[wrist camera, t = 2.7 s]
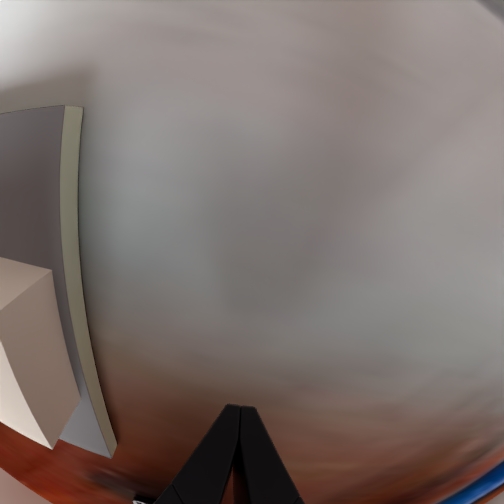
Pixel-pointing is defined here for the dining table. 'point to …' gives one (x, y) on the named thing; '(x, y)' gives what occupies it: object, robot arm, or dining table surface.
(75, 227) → the board
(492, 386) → the dining table surface
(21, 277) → the cream block
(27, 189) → the mats
